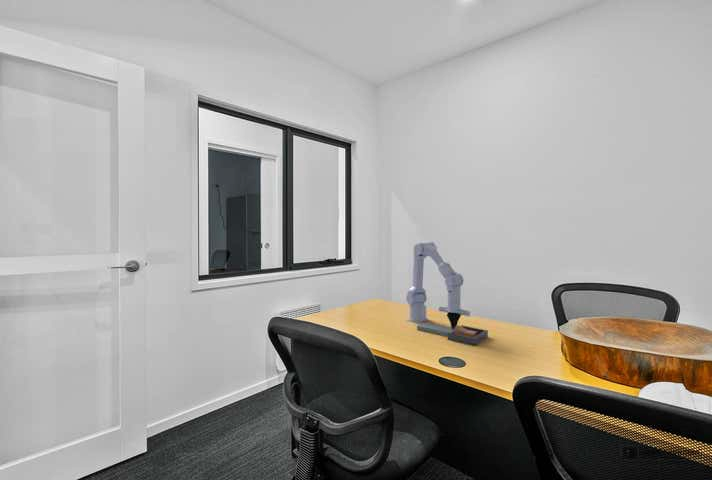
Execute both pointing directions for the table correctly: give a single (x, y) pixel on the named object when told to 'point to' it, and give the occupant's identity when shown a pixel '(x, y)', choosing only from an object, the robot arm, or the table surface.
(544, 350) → the table surface
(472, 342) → the box
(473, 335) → the tile front
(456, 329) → the tile back
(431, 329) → the slate plate
